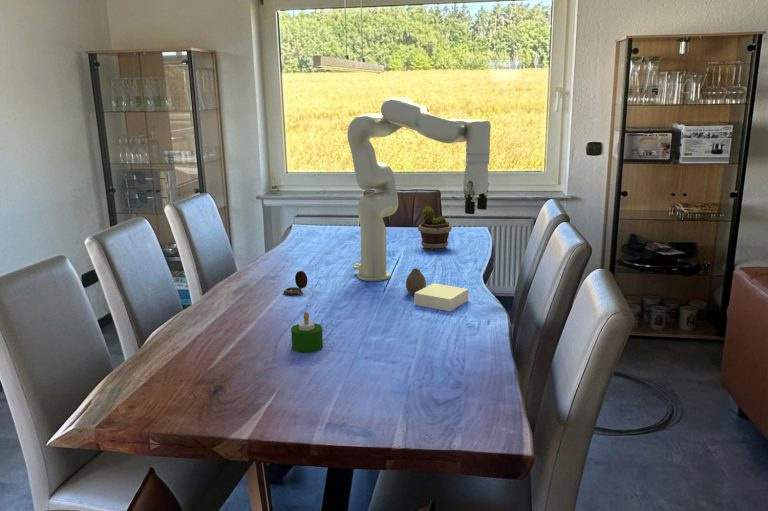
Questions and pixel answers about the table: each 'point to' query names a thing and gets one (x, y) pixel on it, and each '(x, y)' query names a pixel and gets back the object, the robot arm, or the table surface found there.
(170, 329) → the table surface
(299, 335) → the candle
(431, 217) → the flowerpot
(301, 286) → the compass
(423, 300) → the plinth
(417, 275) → the vase
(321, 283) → the table surface
